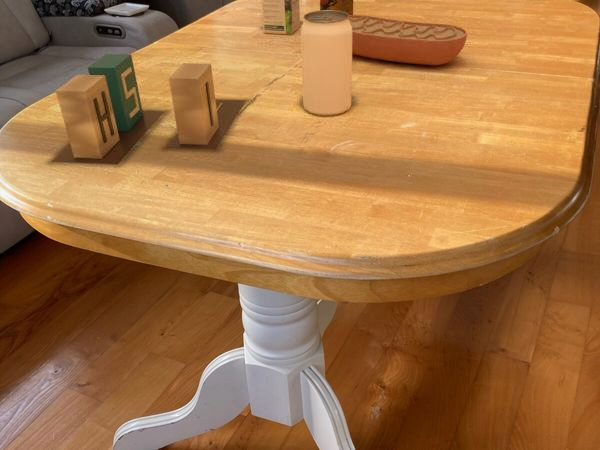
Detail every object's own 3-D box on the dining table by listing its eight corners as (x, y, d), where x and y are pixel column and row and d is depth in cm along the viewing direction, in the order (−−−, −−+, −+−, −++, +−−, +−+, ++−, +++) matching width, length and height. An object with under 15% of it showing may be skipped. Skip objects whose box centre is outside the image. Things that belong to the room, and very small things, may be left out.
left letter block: (53, 169, 66) (30, 93, 61) (109, 116, 79) (93, 49, 74) (119, 172, 65) (101, 95, 60) (165, 118, 77) (153, 50, 72)
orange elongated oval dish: (470, 59, 93) (475, 27, 90) (450, 78, 86) (453, 44, 83) (342, 42, 103) (343, 12, 100) (314, 58, 96) (314, 27, 93)
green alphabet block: (102, 130, 72) (87, 67, 68) (119, 114, 77) (105, 53, 72) (129, 131, 72) (115, 67, 67) (144, 115, 76) (132, 54, 72)
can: (344, 119, 75) (344, 24, 68) (296, 114, 77) (292, 21, 70) (356, 101, 80) (358, 10, 73) (311, 96, 82) (309, 8, 75)
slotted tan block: (167, 155, 68) (153, 80, 63) (204, 105, 81) (195, 40, 76) (216, 157, 67) (207, 81, 62) (246, 107, 80) (240, 40, 75)
